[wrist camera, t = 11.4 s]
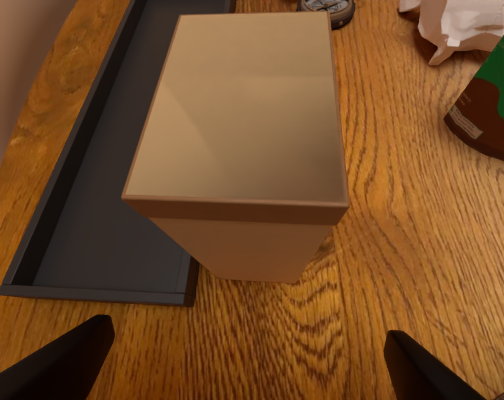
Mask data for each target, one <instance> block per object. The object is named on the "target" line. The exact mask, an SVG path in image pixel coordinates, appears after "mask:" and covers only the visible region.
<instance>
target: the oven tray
mask: <svg viewBox="0 0 504 400" xmlns="http://www.w3.org/2000/svg"><path fill="white" fill-rule="evenodd" d="M235 5H236V0H130V2H129V5H128V7H127V9H126V11H125V13H124V16H123V18H122V20H121V22H120V24H119V27H118V29H117V31H116V33H115V35H114V38H113V40H112V42H111V44H110V46H109V49H108V51H107V53H106V55H105V57H104V60H103V62H102V64H101V66H100V68H99V71H98V73H97V75H96V77H95V79H94V82H93V84H92V86H91V88H90V90H89V93H88V95H87V97H86V99H85V101H84V104H83V106H82V108H81V110H80V112H79V115H78V117H77V119H76V121H75V123H74V126H73V128H72V130H71V132H70V134H69V137H68V139H67V141H66V143H65V145H64V148H63V150H62V152H61V154H60V156H59V159H58V161H57V163H56V165H55V167H54V170H53V172H52V174H51V176H50V178H49V181H48V183H47V185H46V187H45V189H44V192H43V194H42V196H41V198H40V200H39V203H38V205H37V207H36V209H35V211H34V214H33V216H32V218H31V220H30V222H29V225H28V227H27V229H26V231H25V233H24V236H23V238H22V240H21V242H20V244H19V246H18V249H17V251H16V253H15V255H14V257H13V260H12V262H11V264H10V266H9V268H8V271H7V273H6V275H5V277H4V279H3V282H2V285H1V286H0V295H3V296H12V297H22V298H36V299H54V300H73V301H91V302H110V303H128V304H147V305H165V306H183V307H193V305H194V298H195V291H196V284H197V277H198V270H199V262H198V261H197V260H196V259H195V258H194V257H193V256H191V255H190V254H189V253H188V252H187V251H186V250H185V249H183V248H182V247H181V246H180V245H179V244H178V243H176V242H175V241H174V240H173V239H172V238H171V237H170V236H168V235H167V234H166V233H165V232H164V231H163V230H161V229H160V228H159V227H158V226H157V225H156V224H155V223H153V222H152V221H151V220H150V219H149V218H148V217H142V216H141V215H140V214H139V213H138V212H136V211H135V210H134V209H133V208H132V207H131V206H129V205H128V204H127V203H126V202H125V201H123V200H122V199H121V196H122V193H123V189H124V186H125V183H126V180H127V177H128V174H129V171H130V168H131V165H132V161H133V158H134V155H135V152H136V149H137V146H138V143H139V140H140V137H141V133H142V130H143V127H144V124H145V121H146V118H147V115H148V112H149V109H150V105H151V102H152V99H153V96H154V93H155V90H156V87H157V84H158V81H159V77H160V74H161V71H162V68H163V65H164V62H165V59H166V56H167V53H168V49H169V46H170V43H171V40H172V37H173V34H174V31H175V28H176V25H177V21H178V18H179V15H187V14H225V13H234V12H235Z"/></svg>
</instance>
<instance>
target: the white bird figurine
mask: <svg viewBox="0 0 504 400" xmlns="http://www.w3.org/2000/svg"><path fill="white" fill-rule="evenodd" d="M413 10H420V18H419V25H418V29H419V32H420V33H421V35H422V37H424V38H425V39H427V40H429V41H430V42H431V43H433V44H435V45H437V46H438V49H437V51H436V52H435V54H434V55H433V57H432V58H431V60H430V62H429V65H439V64H440V63H441V62H442V61H444V60H445V59H447V58H448V57H449V56H451V55H452V53H453V52H454V51H469V50H473V49H480V50H484V51H489V52H492V51H493V49H494V48H495V46H496V45H497V44H498V42H499V41H500V39H501V38H502V37H503V35H504V0H400V2H399V12H406V11H413Z"/></svg>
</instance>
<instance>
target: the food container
mask: <svg viewBox="0 0 504 400" xmlns="http://www.w3.org/2000/svg"><path fill="white" fill-rule="evenodd" d="M444 121H445V122H446V124H447V125H448V127H449V128H450V130H451V131H452V132H453V133H455V134H456V135H457V136H458V137H459V138H460V139H461V140H462V141H463V142H465V143H466V144H467V145H469V146H471V147H473V148H475V149H476V150H478V151H480V152H482V153H483V154H485V155H488V156H491V157H495V158H498V159H501V160H504V35H503V37H502V38H501V39H500V41H499V42H498V44H497V45H496V46H495V48H494V49H493V51H492V52H491V53H490V55H489V56H488V57H487V59H486V60H485V62H484V63H483V64H482V66H481V67H480V69H479V70H478V71H477V73H476V74H475V76H474V77H473V78H472V80H471V81H470V83H469V84H468V85H467V87H466V88H465V90H464V91H463V92H462V94H461V95H460V97H459V98H458V99H457V101H456V102H455V103H454V105H453V106H452V108H451V109H450V110H449V112H448V113H447V115H446V116H445V117H444Z"/></svg>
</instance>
